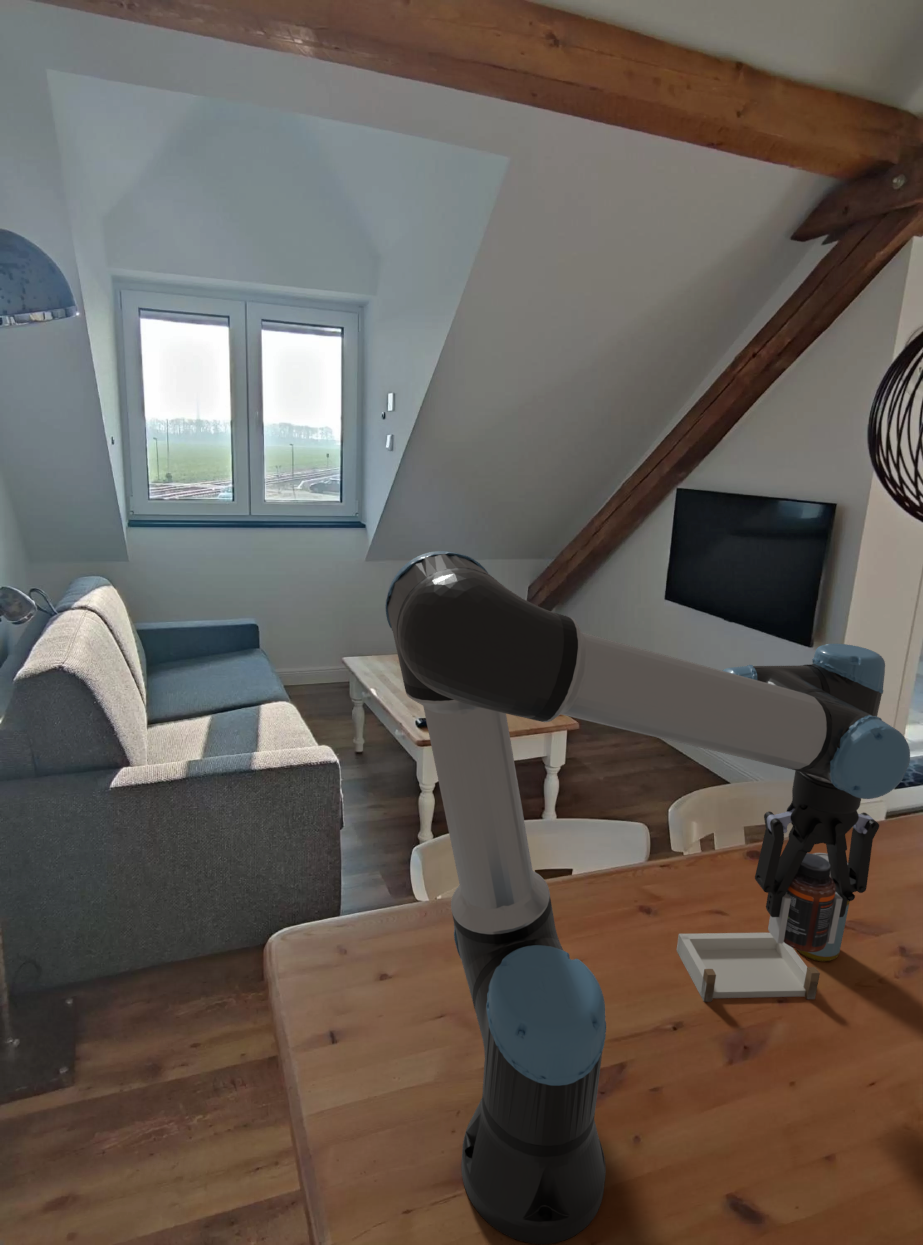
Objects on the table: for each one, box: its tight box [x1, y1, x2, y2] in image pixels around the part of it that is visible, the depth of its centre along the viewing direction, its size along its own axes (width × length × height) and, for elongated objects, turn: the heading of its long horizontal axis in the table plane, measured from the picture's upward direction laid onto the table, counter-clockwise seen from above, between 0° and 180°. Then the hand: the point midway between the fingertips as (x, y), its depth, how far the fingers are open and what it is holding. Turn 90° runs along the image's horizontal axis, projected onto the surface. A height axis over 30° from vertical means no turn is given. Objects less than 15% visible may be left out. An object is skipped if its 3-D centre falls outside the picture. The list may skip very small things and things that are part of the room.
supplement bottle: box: [784, 852, 836, 952], centre depth 93 cm, size 6×6×11 cm
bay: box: [676, 932, 821, 1003], centre depth 109 cm, size 11×16×4 cm, turn 95°
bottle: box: [796, 852, 851, 962], centre depth 114 cm, size 7×7×15 cm
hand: (800, 936), depth 95 cm, fingers closed on supplement bottle, 6 cm apart
